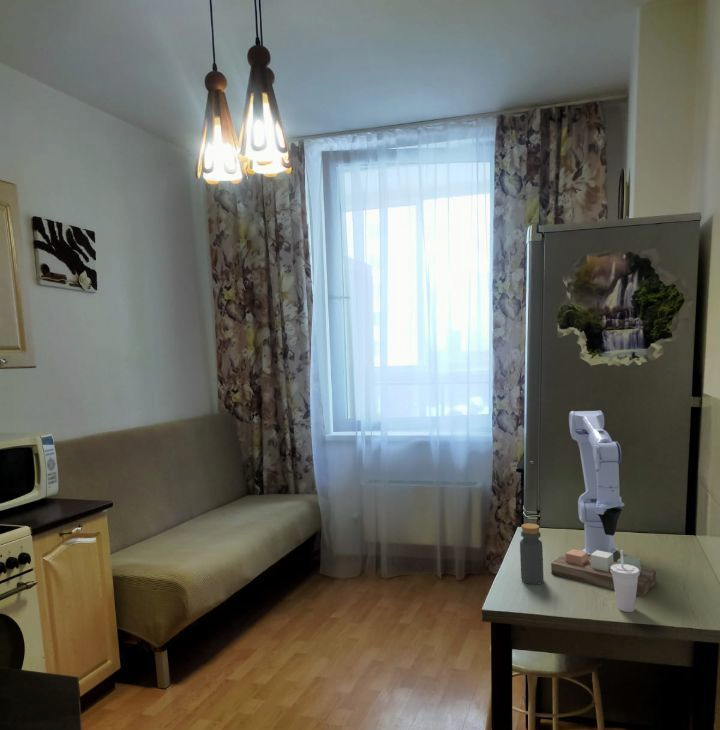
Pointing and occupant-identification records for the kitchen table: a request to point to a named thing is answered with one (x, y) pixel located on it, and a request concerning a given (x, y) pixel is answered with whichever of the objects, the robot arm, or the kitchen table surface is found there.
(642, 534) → the kitchen table surface
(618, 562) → the green cube
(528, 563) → the bottle
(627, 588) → the smoothie
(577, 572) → the brown wooden tray
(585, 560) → the salmon cube
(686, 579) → the kitchen table surface
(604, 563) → the white cube
